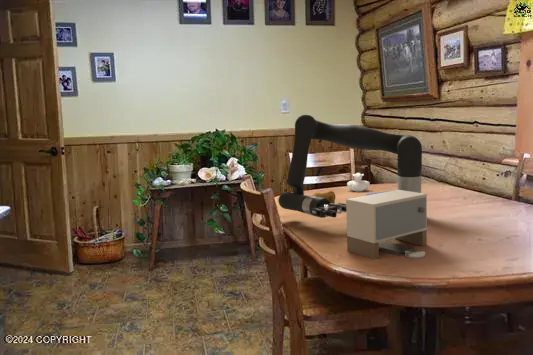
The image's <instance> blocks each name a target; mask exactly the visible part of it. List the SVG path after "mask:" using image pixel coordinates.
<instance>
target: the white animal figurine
mask: <svg viewBox="0 0 533 355" xmlns="http://www.w3.org/2000/svg"><path fill="white" fill-rule="evenodd" d="M352 176H353V178H354V180H349V181H348V182H347V183H346V186H347V188H348V190H349V191H353V192H358V193H359V192H364V191H368V189H369V187H370V183H371V182H370V181H367V180H362V179H363V176H365V175H364V173H361V172H356V173H352Z"/></svg>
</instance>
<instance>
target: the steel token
mask: <svg viewBox="0 0 533 355" xmlns="http://www.w3.org/2000/svg"><path fill="white" fill-rule="evenodd" d="M404 256H405V258H408V259H411V260H414V259H416V260H417V259H418V260H419V259H423V258H425V257H426V251H424V250H422V249H418V248H417V249H416V248H415V249H409V250H406V251H405V254H404Z"/></svg>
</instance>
